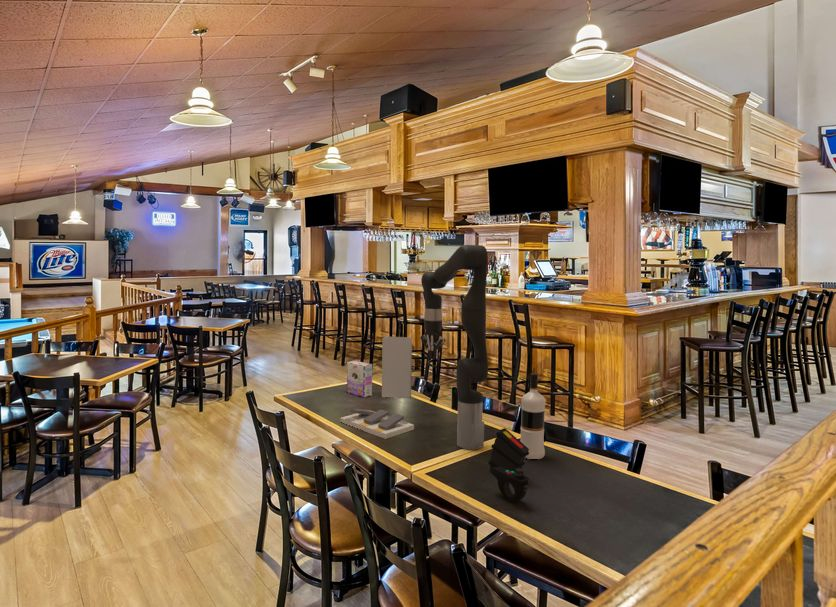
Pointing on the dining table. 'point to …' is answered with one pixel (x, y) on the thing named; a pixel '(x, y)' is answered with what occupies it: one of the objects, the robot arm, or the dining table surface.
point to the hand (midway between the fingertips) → (432, 359)
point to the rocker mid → (376, 416)
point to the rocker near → (390, 421)
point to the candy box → (359, 378)
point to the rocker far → (361, 411)
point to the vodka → (533, 420)
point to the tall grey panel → (396, 366)
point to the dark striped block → (507, 451)
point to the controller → (511, 482)
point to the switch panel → (376, 425)
